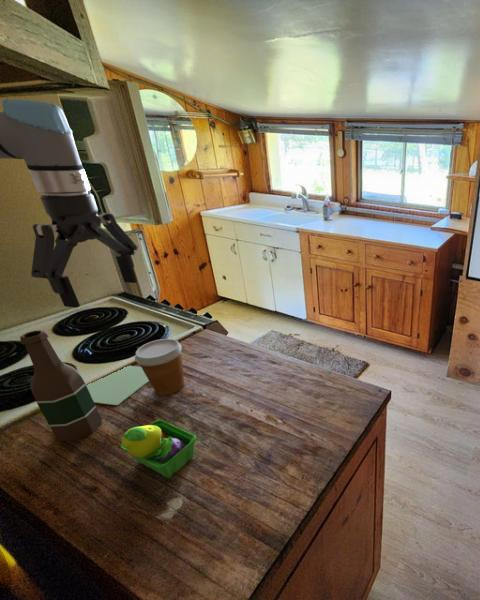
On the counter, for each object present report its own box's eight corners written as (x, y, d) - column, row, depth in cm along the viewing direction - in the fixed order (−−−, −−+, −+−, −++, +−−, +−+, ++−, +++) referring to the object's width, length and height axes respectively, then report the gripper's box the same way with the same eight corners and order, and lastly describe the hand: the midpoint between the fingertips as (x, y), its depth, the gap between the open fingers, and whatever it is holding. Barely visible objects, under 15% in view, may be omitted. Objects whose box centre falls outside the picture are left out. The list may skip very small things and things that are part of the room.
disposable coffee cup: (139, 401, 78) (124, 360, 73) (158, 377, 87) (145, 338, 82) (183, 397, 80) (171, 357, 75) (197, 374, 89) (187, 336, 84)
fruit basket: (203, 454, 66) (191, 412, 61) (160, 492, 59) (142, 448, 54) (165, 436, 70) (150, 395, 65) (119, 469, 62) (99, 426, 57)
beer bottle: (112, 420, 73) (71, 327, 63) (72, 447, 66) (19, 348, 56) (86, 412, 75) (43, 320, 65) (45, 437, 68) (-11, 340, 58)
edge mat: (65, 398, 78) (64, 398, 78) (117, 364, 91) (117, 364, 91) (117, 405, 77) (117, 405, 77) (163, 370, 90) (163, 369, 90)
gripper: (4, 203, 51) (58, 321, 60) (138, 187, 74) (163, 275, 83) (-37, 200, 52) (23, 317, 61) (108, 186, 75) (136, 272, 83)
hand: (104, 293), depth 72 cm, fingers open, 13 cm apart
